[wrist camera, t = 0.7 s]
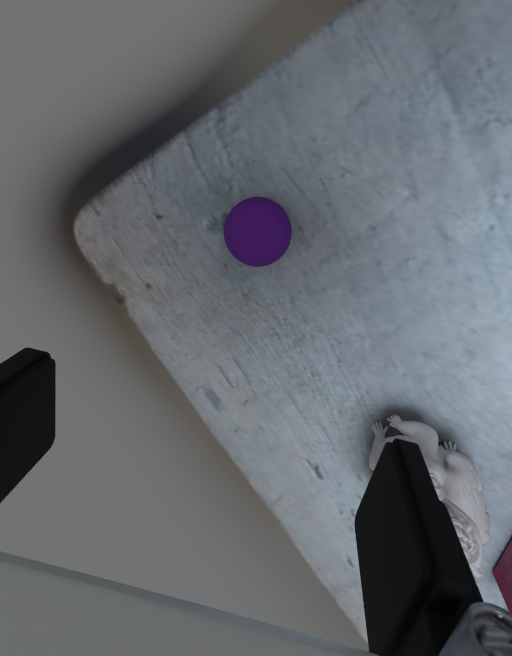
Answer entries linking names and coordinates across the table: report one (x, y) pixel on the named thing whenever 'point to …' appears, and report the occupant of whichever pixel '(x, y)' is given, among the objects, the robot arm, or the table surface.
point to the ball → (257, 231)
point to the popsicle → (505, 576)
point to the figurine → (446, 484)
